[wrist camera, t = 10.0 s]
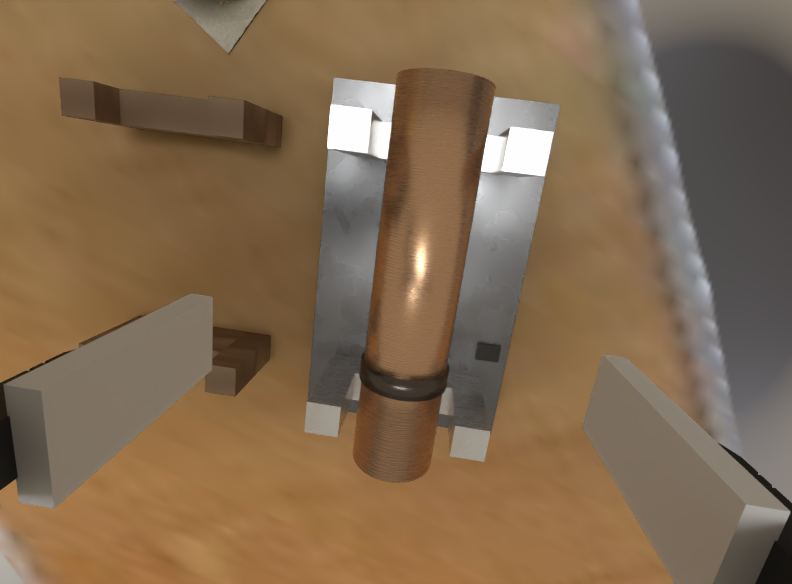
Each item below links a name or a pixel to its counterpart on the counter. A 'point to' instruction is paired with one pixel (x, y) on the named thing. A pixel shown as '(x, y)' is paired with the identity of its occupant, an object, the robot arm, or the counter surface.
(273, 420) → the counter surface
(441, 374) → the tube
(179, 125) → the walnut rack
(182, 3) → the condiment
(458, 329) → the plate
